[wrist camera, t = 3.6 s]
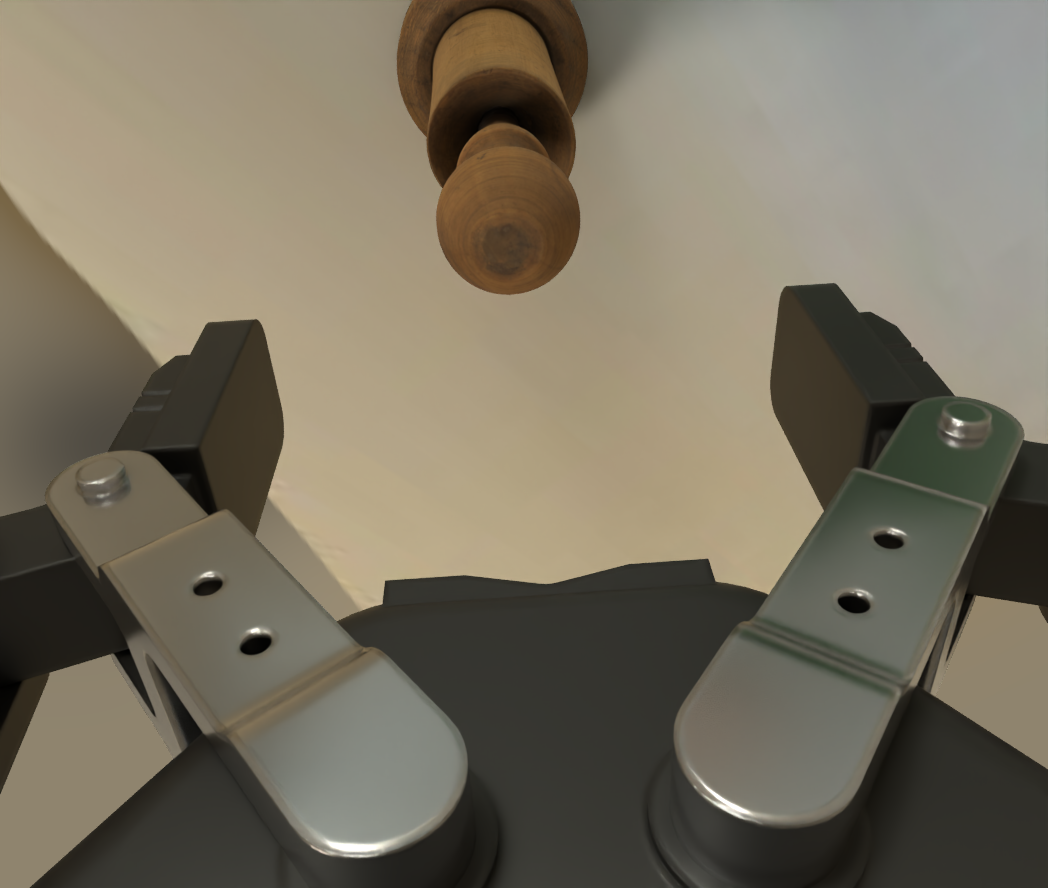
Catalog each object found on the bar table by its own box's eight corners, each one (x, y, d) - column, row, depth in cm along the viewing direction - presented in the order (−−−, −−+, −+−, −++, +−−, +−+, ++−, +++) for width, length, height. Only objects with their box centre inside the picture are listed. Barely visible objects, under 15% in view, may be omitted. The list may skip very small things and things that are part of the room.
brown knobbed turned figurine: (529, 176, 36) (573, 432, 21) (371, 100, 34) (296, 321, 19) (615, 7, 33) (738, 168, 18) (446, -87, 31) (425, 4, 16)
